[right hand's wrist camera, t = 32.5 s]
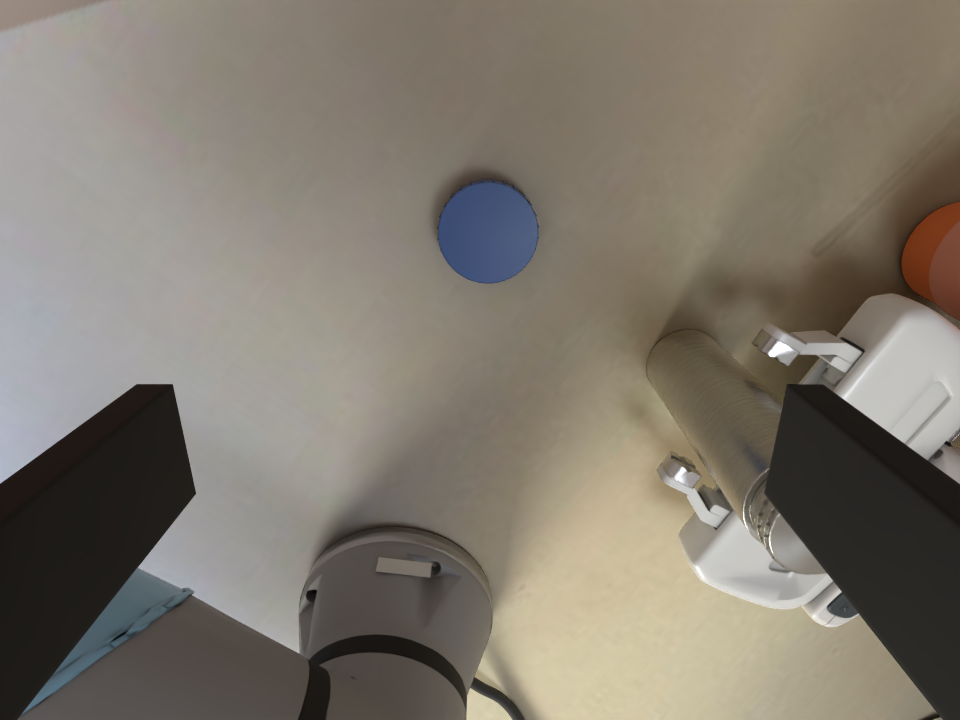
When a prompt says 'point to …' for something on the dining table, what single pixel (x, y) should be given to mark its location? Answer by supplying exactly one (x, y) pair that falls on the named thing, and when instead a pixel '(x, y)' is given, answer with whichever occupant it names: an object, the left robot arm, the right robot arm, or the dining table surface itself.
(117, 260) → the dining table surface
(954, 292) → the cup with straw
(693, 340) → the silver metal cylinder
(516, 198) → the lid
